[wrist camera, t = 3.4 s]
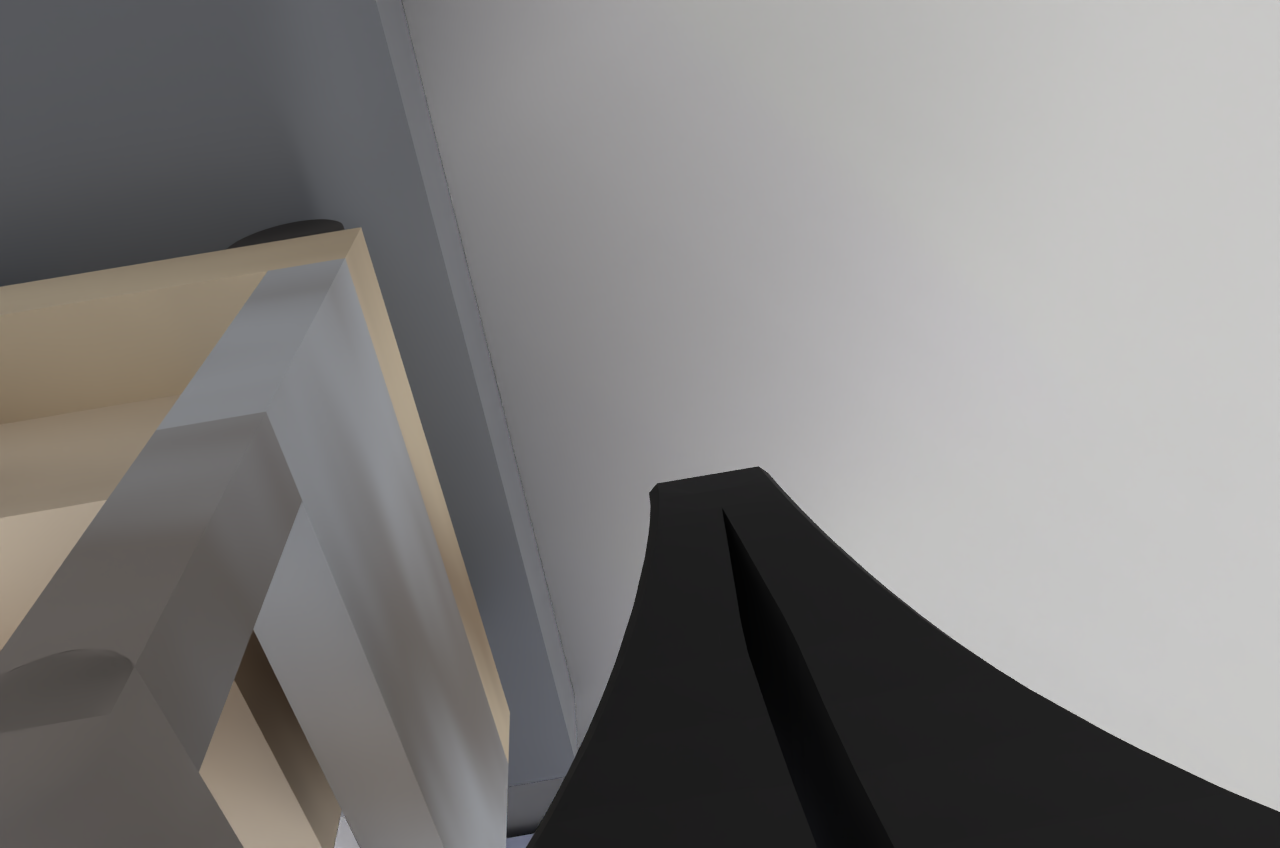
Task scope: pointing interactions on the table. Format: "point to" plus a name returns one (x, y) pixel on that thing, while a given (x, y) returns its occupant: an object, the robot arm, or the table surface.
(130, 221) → the dock
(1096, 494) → the table surface
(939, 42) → the table surface
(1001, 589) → the table surface
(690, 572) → the robot arm
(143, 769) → the toy vehicle
